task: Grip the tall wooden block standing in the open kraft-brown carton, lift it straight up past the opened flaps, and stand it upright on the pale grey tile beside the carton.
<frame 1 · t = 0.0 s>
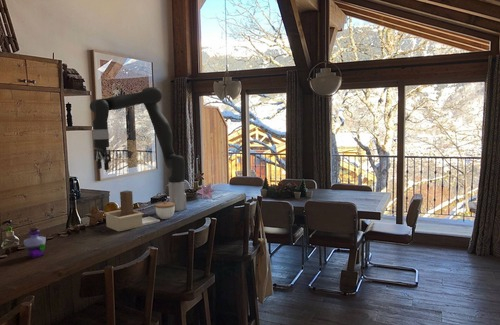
hand: (103, 169, 208), 29 cm above the counter, tool pointing down, fingers open, 8 cm apart
lidded jar: (165, 218, 223), on the counter
carton: (124, 226, 206), on the counter
lily: (206, 198, 277), on the counter
grey tile: (146, 221, 214), on the counter
wooden block: (124, 226, 206), resting in carton
potion bottle: (36, 256, 163), on the counter
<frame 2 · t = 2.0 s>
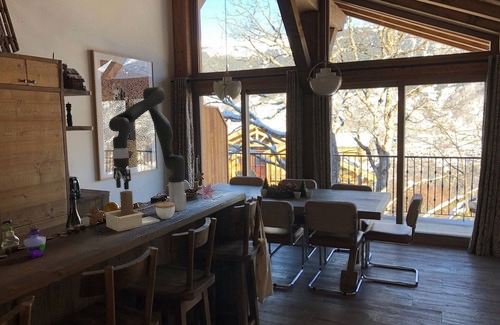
hand: (122, 188, 204), 20 cm above the counter, tool pointing down, fingers open, 8 cm apart
nothing on the counter moved.
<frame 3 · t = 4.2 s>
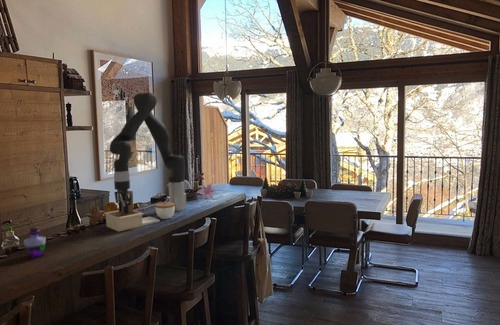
hand: (123, 212, 205), 7 cm above the counter, tool pointing down, fingers closed on wooden block, 4 cm apart
wooden block: (124, 226, 206), resting in carton, touching gripper
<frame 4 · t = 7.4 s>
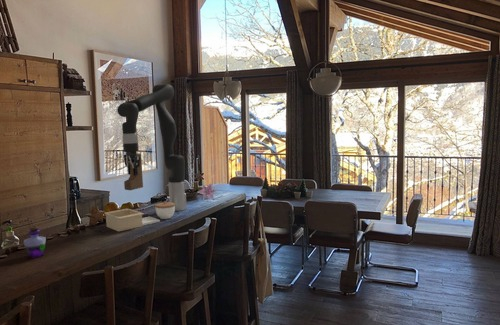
hand: (132, 174, 207), 26 cm above the counter, tool pointing down, fingers closed on wooden block, 4 cm apart
wooden block: (134, 188, 208), point 19 cm above the counter, touching gripper
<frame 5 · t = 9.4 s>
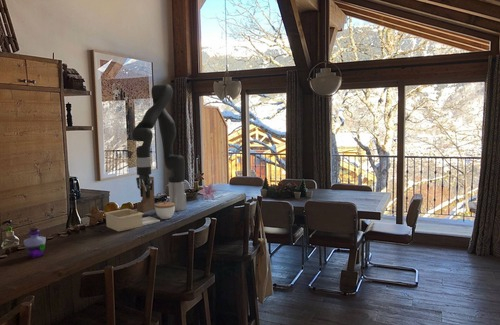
hand: (145, 197, 213), 13 cm above the counter, tool pointing down, fingers closed on wooden block, 4 cm apart
wooden block: (146, 211, 214), point 6 cm above the counter, touching gripper
when the fingers open (10 cm above the counter, at t = 10.9 s): wooden block drops 1 cm, resting on grey tile.
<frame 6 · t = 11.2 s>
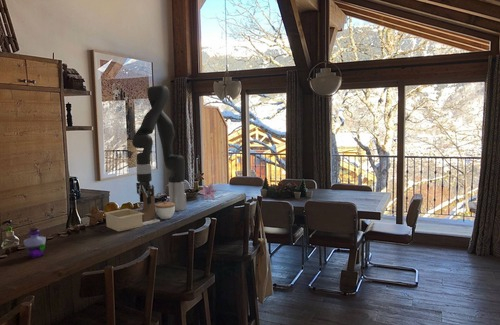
hand: (145, 202, 213), 10 cm above the counter, tool pointing down, fingers open, 7 cm apart
wooden block: (146, 220, 214), point 1 cm above the counter, touching grey tile
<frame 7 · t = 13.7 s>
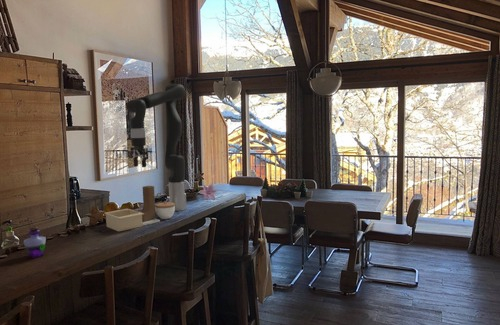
hand: (139, 166, 216), 29 cm above the counter, tool pointing down, fingers open, 8 cm apart
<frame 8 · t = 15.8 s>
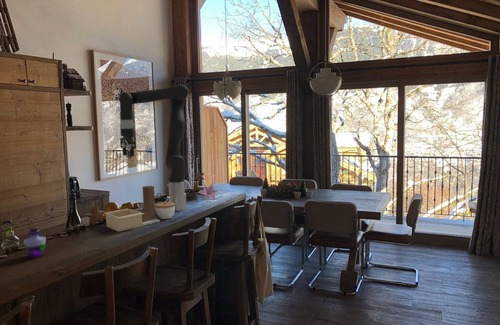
hand: (128, 155, 231), 34 cm above the counter, tool pointing down, fingers open, 8 cm apart
at the end: wooden block inside the target area on the grey tile (0.4 cm from its centre), point 0.8 cm above the grey tile's base; wooden block tilted 0°; the gripper is holding nothing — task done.
